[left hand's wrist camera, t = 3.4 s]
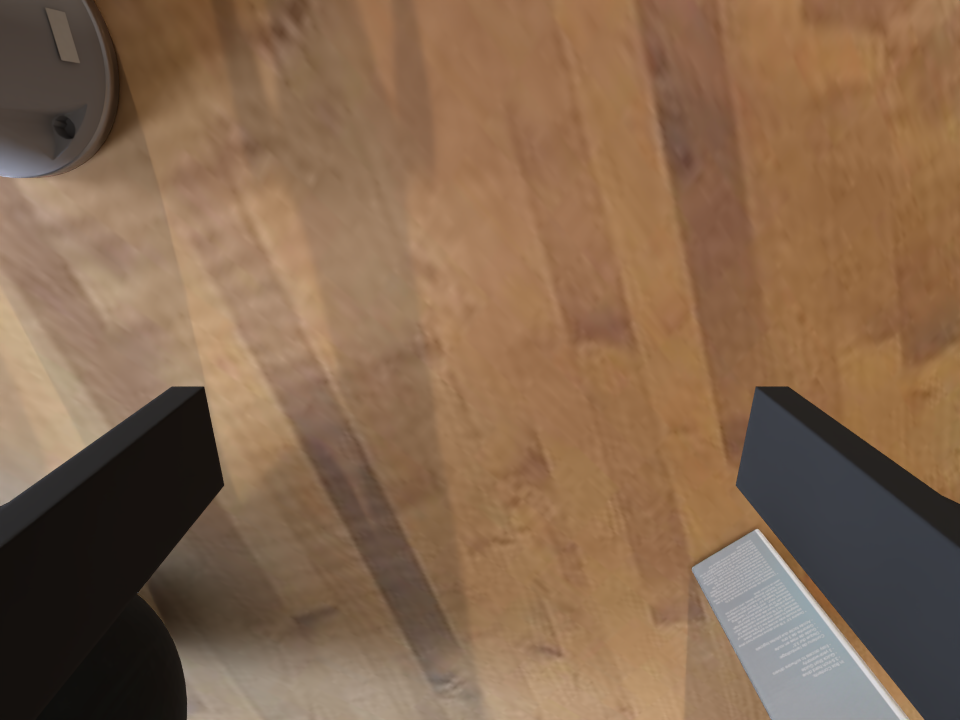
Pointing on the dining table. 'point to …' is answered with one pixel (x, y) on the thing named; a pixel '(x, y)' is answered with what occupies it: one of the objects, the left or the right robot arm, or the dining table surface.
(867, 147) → the dining table surface
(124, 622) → the sphere
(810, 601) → the hard drive box
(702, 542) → the dining table surface
